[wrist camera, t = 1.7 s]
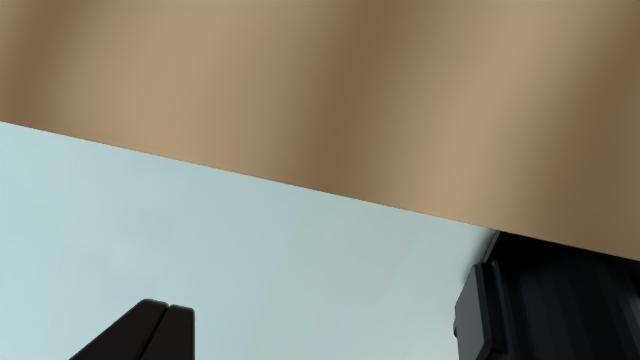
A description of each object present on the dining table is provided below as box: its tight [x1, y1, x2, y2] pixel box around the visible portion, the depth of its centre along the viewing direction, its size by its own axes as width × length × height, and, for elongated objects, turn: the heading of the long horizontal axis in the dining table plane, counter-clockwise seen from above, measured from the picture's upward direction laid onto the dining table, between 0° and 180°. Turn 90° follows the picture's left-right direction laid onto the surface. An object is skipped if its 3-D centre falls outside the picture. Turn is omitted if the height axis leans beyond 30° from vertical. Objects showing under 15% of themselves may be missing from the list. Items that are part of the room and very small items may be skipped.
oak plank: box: [0, 0, 640, 261], centre depth 15 cm, size 20×9×1 cm
